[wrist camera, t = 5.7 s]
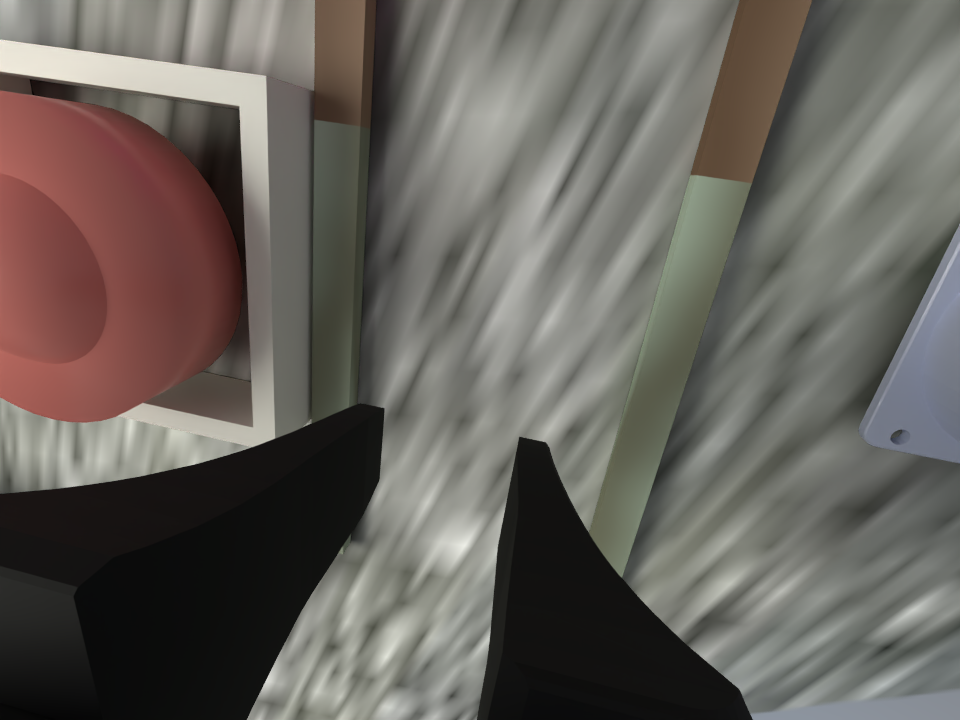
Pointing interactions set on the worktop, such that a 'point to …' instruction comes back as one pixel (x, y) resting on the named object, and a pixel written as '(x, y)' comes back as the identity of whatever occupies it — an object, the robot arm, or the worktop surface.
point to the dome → (105, 261)
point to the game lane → (688, 269)
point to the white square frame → (268, 232)
